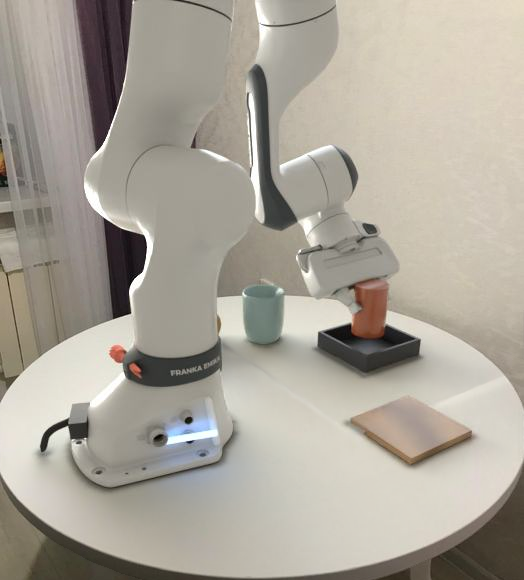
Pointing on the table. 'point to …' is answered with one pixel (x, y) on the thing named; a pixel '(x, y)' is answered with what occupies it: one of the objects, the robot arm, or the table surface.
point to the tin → (368, 347)
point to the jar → (370, 308)
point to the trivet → (411, 429)
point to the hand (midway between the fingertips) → (372, 307)
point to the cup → (263, 313)
